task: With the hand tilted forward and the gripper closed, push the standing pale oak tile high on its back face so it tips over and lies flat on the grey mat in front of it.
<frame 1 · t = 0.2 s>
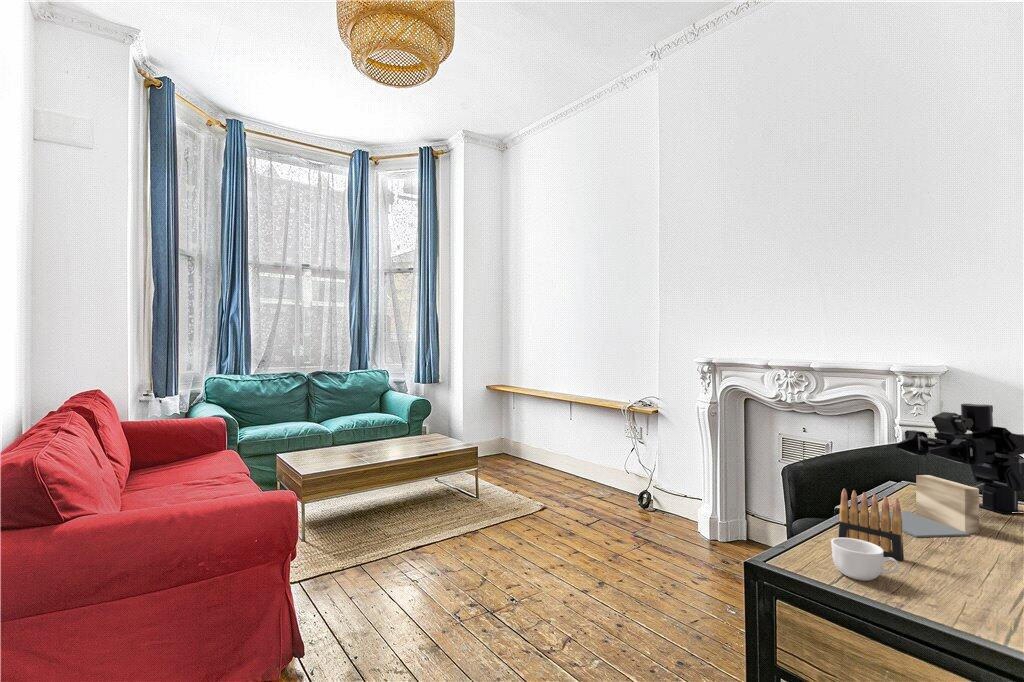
hand: (912, 448, 124), 16 cm above the table, tool horizontal, fingers open, 9 cm apart
ammunition clip: (869, 553, 100), on the table
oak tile: (946, 523, 117), on the table
mat: (912, 524, 116), on the table
teacup: (863, 578, 89), on the table
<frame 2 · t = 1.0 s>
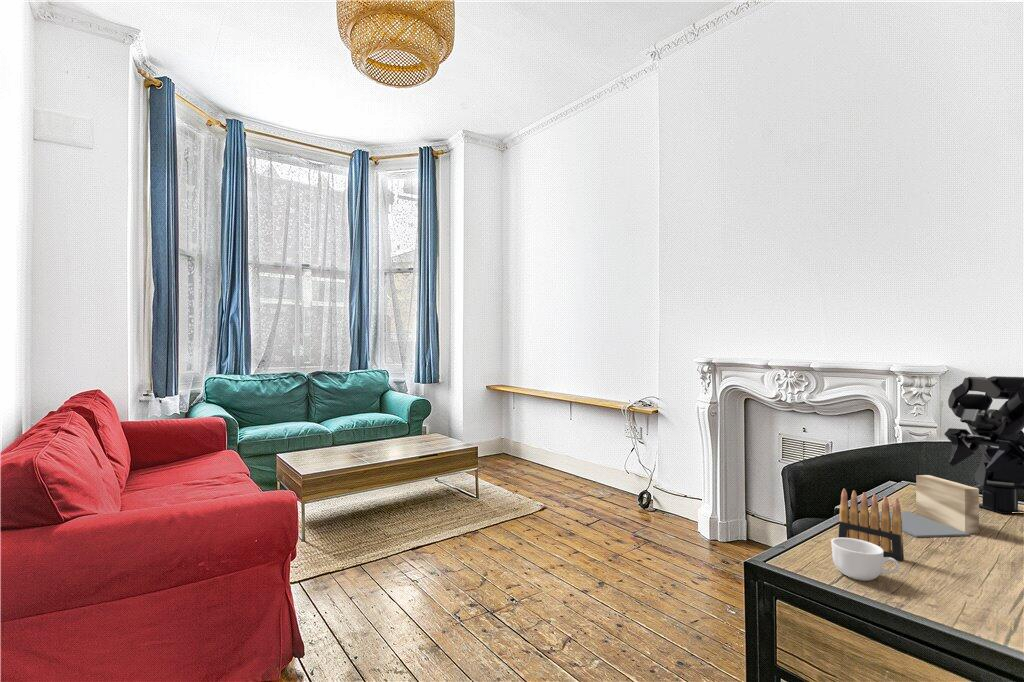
hand: (968, 467, 118), 13 cm above the table, tool tilted 45°, fingers open, 9 cm apart
nothing on the table moved.
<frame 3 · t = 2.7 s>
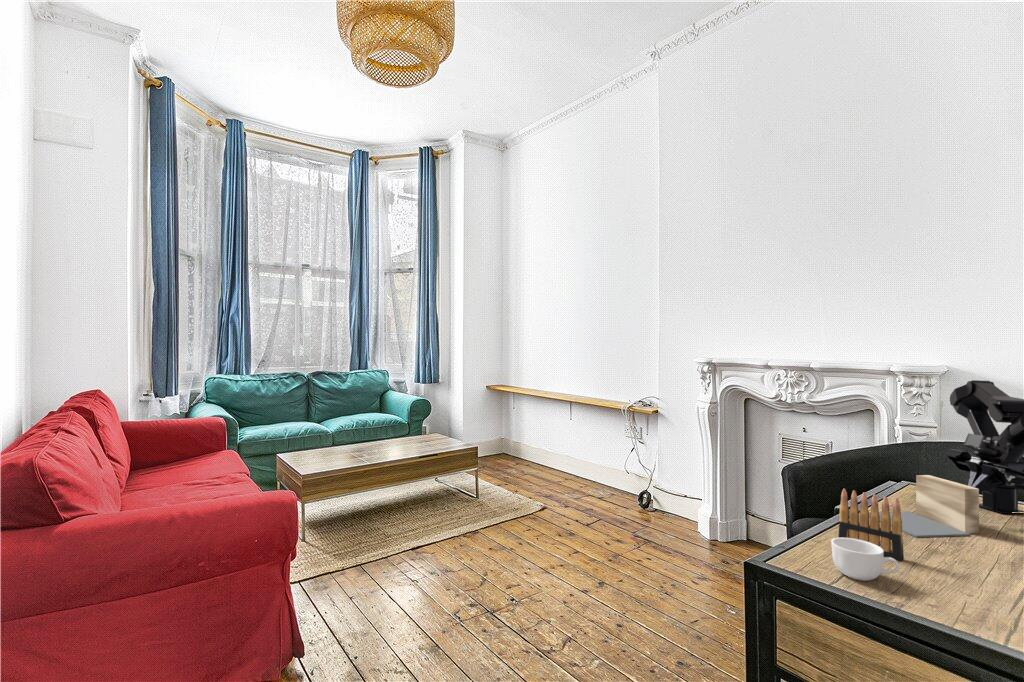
hand: (969, 493, 117), 7 cm above the table, tool tilted 45°, fingers closed
nothing on the table moved.
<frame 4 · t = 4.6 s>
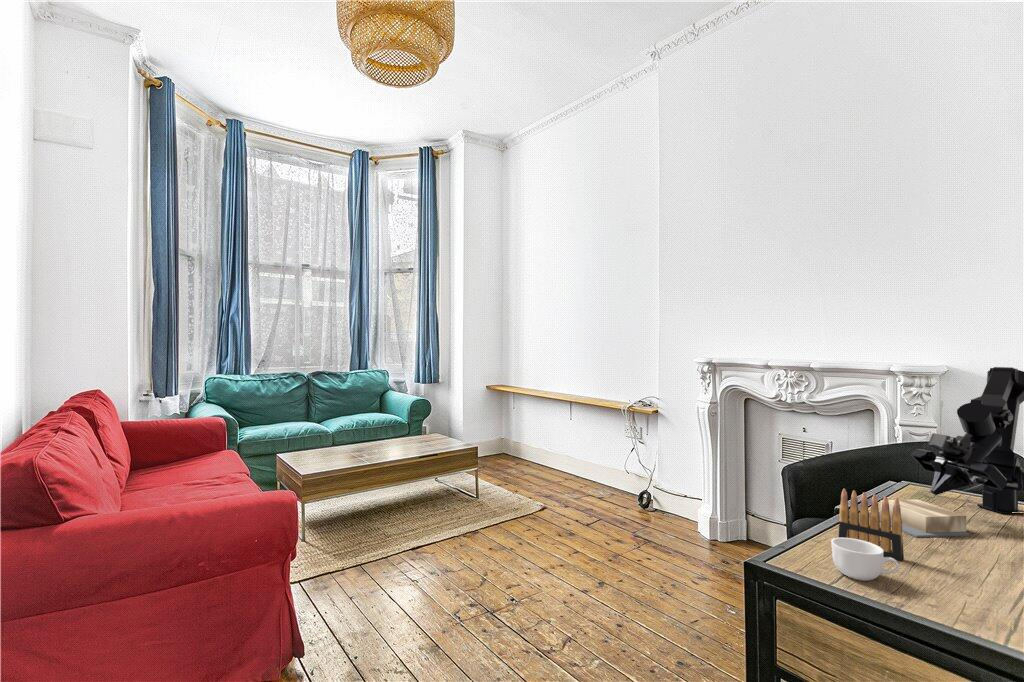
hand: (932, 493, 116), 7 cm above the table, tool tilted 45°, fingers closed
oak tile: (940, 514, 117), point 2 cm above the table, tilted 90°, touching mat
everything else where it was.
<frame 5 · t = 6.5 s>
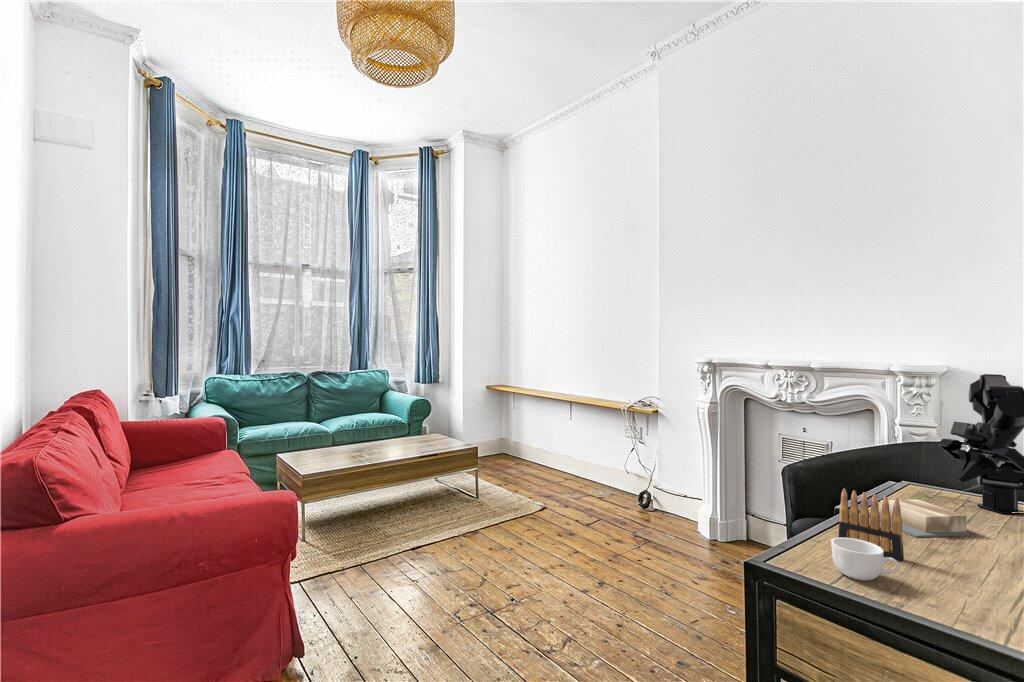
hand: (959, 480, 118), 10 cm above the table, tool tilted 40°, fingers closed
nothing on the table moved.
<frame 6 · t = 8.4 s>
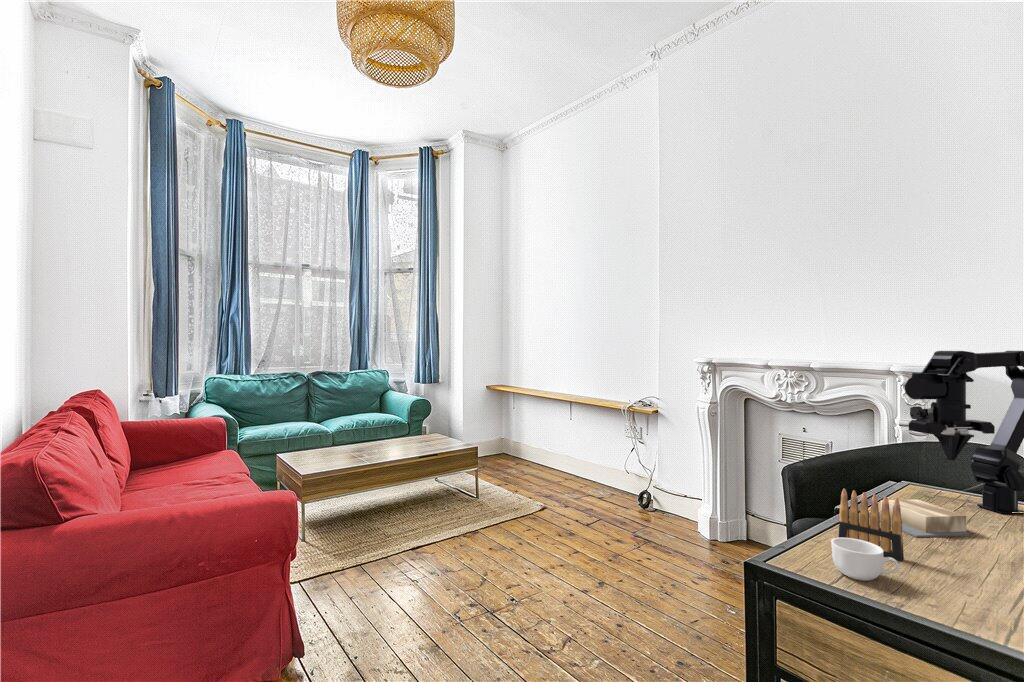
hand: (950, 460, 126), 13 cm above the table, tool pointing down, fingers closed
nothing on the table moved.
at the end: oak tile tilted 90°; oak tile touching mat; the gripper is holding nothing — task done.
